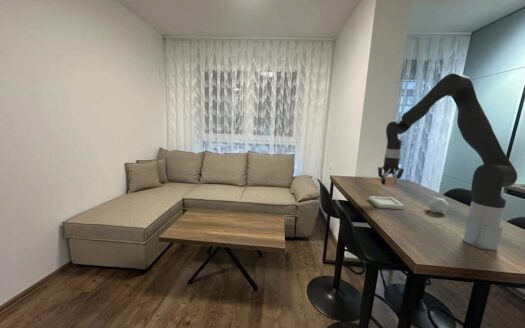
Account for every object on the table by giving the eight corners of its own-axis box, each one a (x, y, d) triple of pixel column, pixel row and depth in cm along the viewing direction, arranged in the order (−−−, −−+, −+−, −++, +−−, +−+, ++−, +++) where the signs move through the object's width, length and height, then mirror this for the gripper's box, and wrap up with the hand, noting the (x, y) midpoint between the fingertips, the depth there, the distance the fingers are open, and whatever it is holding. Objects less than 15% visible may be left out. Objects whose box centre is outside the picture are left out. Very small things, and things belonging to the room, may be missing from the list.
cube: (394, 186, 127) (395, 178, 126) (385, 186, 128) (386, 178, 127) (390, 184, 132) (391, 176, 131) (381, 184, 133) (382, 176, 132)
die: (444, 212, 124) (434, 195, 127) (456, 210, 116) (445, 192, 119) (431, 217, 124) (420, 201, 127) (442, 215, 115) (431, 198, 119)
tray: (403, 209, 125) (404, 205, 124) (378, 207, 126) (378, 203, 125) (391, 201, 138) (392, 197, 138) (369, 199, 140) (369, 196, 139)
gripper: (382, 157, 124) (378, 186, 127) (408, 158, 122) (404, 187, 126) (376, 155, 131) (373, 182, 134) (401, 156, 130) (397, 183, 133)
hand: (388, 184), depth 130 cm, fingers closed on cube, 5 cm apart
